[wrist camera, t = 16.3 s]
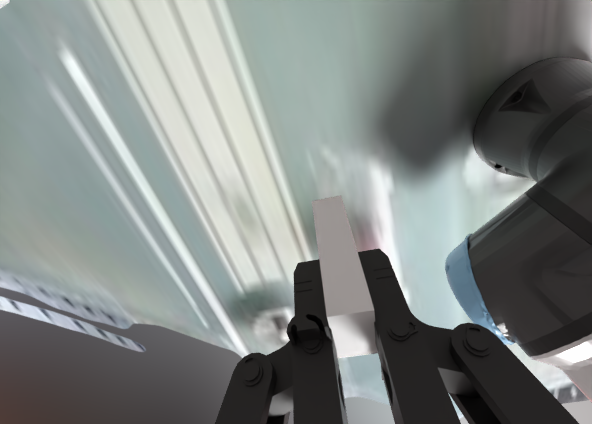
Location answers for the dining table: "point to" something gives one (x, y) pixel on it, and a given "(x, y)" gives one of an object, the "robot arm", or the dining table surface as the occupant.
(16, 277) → the dining table surface
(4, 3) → the white cup
